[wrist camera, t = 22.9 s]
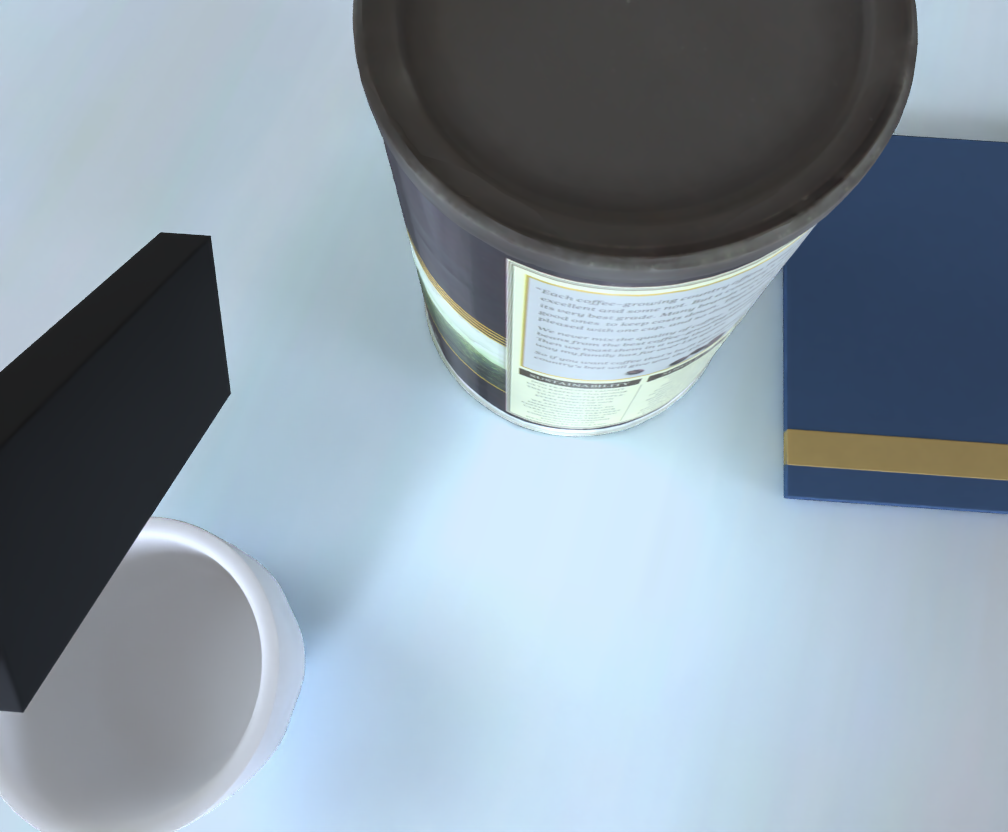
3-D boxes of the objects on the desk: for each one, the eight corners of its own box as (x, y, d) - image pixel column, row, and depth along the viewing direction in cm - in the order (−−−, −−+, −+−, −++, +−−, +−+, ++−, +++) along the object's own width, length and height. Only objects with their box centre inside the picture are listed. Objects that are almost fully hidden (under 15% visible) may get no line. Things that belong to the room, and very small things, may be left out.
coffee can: (367, 354, 29) (243, 110, 15) (510, 109, 31) (514, -297, 18) (647, 497, 28) (784, 371, 14) (776, 233, 30) (1003, -98, 16)
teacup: (134, 506, 28) (48, 478, 23) (361, 579, 27) (327, 568, 22) (0, 831, 26) (-130, 883, 20) (245, 917, 25) (176, 994, 20)
